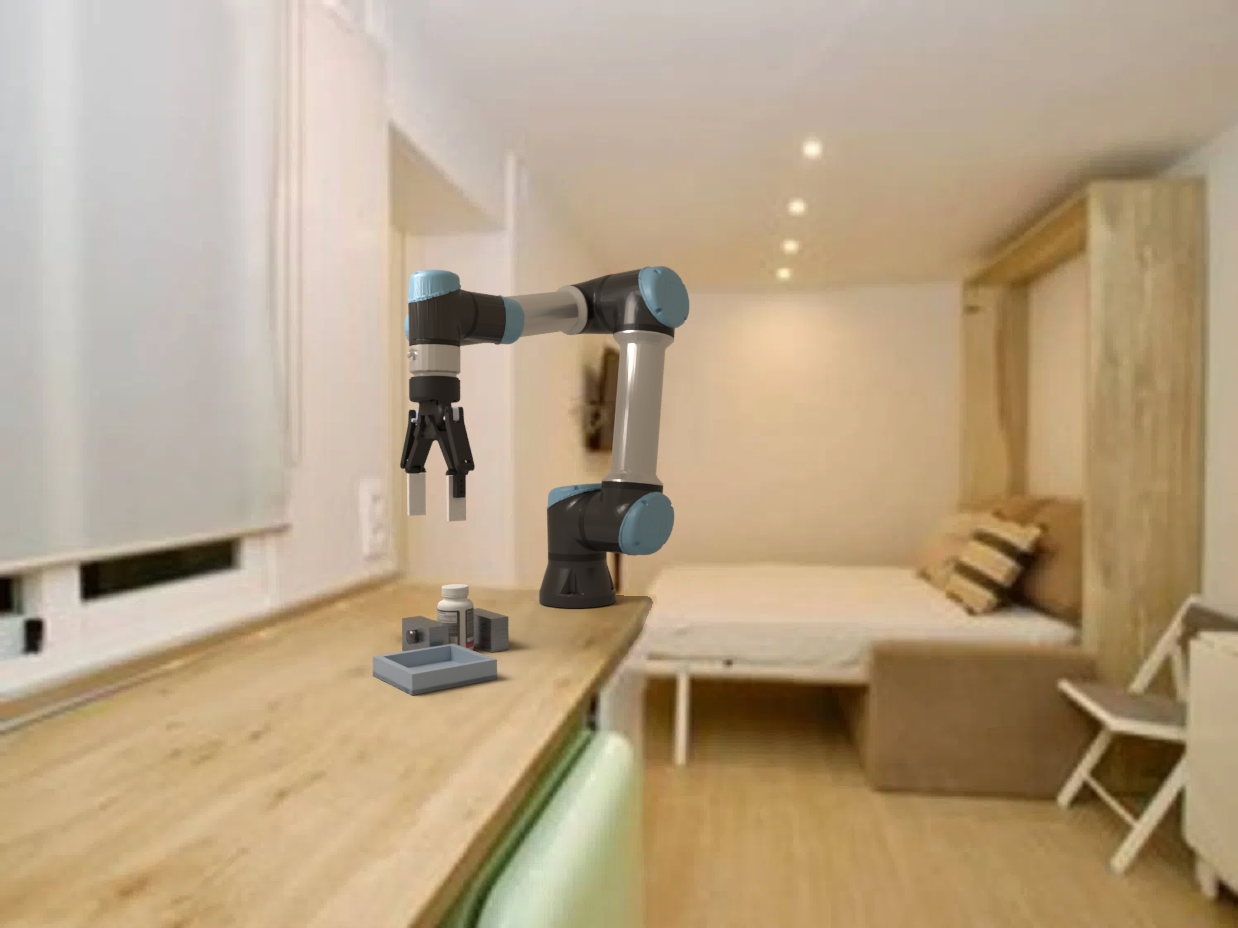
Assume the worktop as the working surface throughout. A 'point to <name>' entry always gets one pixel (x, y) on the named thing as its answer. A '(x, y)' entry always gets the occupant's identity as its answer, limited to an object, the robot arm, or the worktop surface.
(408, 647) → the grey twin blocks
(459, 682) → the tray
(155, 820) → the worktop surface
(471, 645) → the pill bottle
